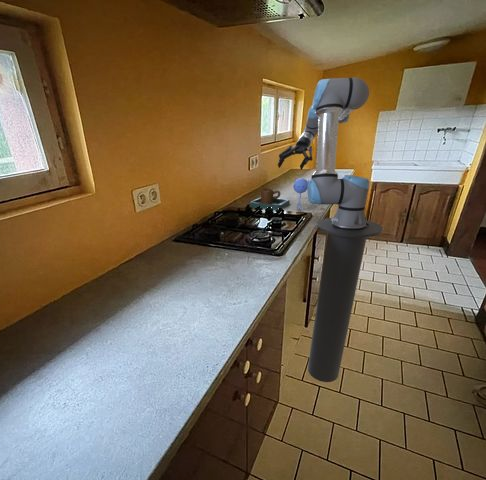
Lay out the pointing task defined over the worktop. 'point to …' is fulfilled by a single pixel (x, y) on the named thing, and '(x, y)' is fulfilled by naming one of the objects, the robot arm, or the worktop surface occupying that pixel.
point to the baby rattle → (300, 188)
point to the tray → (276, 204)
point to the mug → (268, 196)
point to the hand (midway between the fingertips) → (289, 166)
